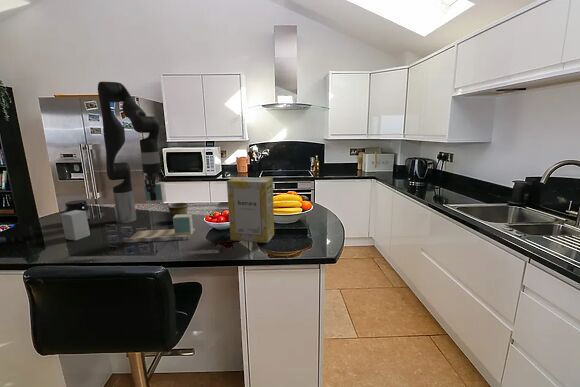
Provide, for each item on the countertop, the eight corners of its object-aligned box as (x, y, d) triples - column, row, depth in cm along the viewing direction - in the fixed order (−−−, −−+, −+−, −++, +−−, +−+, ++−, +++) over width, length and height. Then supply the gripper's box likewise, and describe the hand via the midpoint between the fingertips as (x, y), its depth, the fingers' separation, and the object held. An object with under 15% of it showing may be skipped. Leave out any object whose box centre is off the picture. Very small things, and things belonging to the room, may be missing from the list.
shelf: (124, 245, 125) (123, 239, 124) (138, 233, 139) (137, 227, 139) (189, 242, 128) (188, 235, 127) (196, 230, 142) (195, 224, 142)
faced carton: (174, 235, 132) (172, 217, 130) (177, 232, 137) (175, 214, 135) (191, 235, 133) (189, 217, 131) (193, 231, 137) (191, 214, 135)
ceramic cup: (192, 221, 156) (191, 204, 154) (175, 226, 149) (173, 208, 147) (181, 217, 165) (180, 200, 163) (164, 221, 158) (162, 204, 156)
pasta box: (230, 239, 130) (226, 181, 124) (239, 231, 140) (236, 177, 134) (267, 242, 126) (265, 182, 120) (274, 234, 136) (272, 178, 130)
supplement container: (63, 224, 155) (59, 203, 152) (83, 218, 165) (79, 198, 162) (76, 226, 151) (71, 205, 149) (95, 220, 161) (91, 200, 158)
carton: (145, 203, 127) (143, 184, 125) (149, 201, 131) (147, 182, 129) (162, 203, 128) (160, 183, 126) (166, 200, 132) (164, 182, 130)
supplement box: (90, 235, 138) (86, 210, 135) (75, 240, 131) (70, 215, 129) (80, 233, 141) (75, 209, 138) (64, 239, 134) (59, 213, 131)
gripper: (154, 163, 119) (158, 202, 123) (164, 160, 133) (168, 195, 137) (135, 164, 118) (140, 203, 122) (148, 160, 132) (153, 195, 136)
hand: (155, 198), depth 129 cm, fingers closed on carton, 4 cm apart
